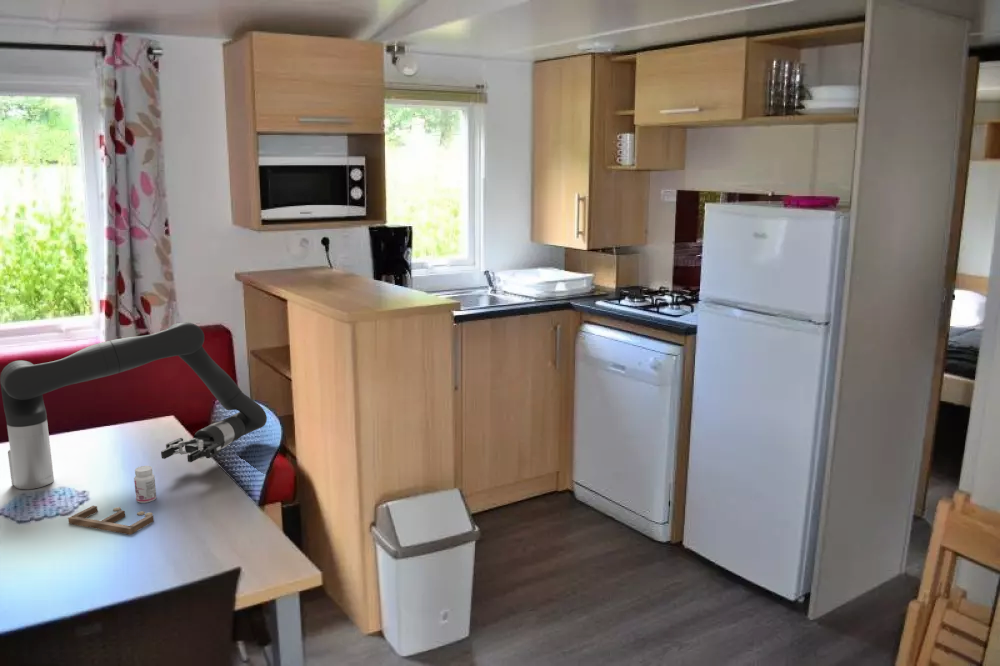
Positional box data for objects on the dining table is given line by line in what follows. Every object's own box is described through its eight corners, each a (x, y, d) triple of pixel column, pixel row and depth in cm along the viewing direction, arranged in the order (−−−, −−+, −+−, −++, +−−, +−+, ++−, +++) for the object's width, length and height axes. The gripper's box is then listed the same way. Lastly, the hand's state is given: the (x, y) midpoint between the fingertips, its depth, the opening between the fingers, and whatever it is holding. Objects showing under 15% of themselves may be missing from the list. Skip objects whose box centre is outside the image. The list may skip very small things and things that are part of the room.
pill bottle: (131, 501, 208) (129, 469, 206) (147, 494, 212) (144, 463, 210) (144, 504, 206) (141, 473, 204) (160, 498, 210) (157, 467, 208)
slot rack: (68, 523, 195) (68, 517, 195) (104, 505, 205) (103, 500, 205) (130, 534, 189) (129, 528, 189) (163, 515, 199) (163, 510, 199)
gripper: (192, 422, 235) (152, 441, 220) (234, 427, 230) (196, 446, 215) (194, 447, 236) (154, 467, 221) (236, 452, 232) (198, 473, 217)
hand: (175, 457), depth 218 cm, fingers open, 8 cm apart
